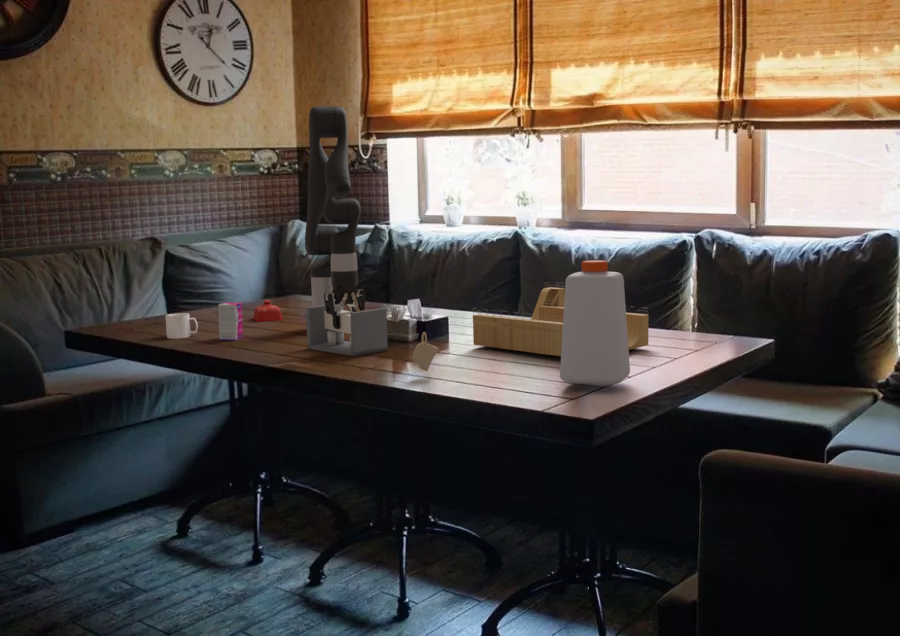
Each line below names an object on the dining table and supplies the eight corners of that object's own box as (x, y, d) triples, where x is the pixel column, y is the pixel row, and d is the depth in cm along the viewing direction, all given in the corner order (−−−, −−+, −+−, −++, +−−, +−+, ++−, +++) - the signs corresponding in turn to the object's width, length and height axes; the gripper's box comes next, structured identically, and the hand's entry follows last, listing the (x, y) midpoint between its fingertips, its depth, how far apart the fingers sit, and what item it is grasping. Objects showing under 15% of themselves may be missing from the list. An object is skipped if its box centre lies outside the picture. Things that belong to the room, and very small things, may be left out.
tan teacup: (415, 366, 257) (404, 359, 253) (431, 338, 258) (420, 330, 254) (426, 372, 255) (415, 364, 251) (443, 343, 256) (432, 335, 252)
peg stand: (307, 348, 295) (305, 307, 293) (339, 343, 303) (338, 303, 301) (355, 356, 280) (353, 313, 278) (387, 350, 288) (386, 308, 286)
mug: (198, 335, 326) (197, 312, 325) (198, 338, 319) (196, 315, 318) (167, 337, 324) (165, 313, 323) (166, 340, 317) (164, 316, 316)
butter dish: (288, 325, 347) (287, 300, 346) (254, 327, 343) (253, 302, 342) (281, 321, 358) (280, 297, 357) (248, 323, 354) (247, 299, 353)
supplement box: (236, 341, 312) (234, 304, 310) (218, 341, 313) (216, 304, 311) (244, 338, 317) (242, 302, 316) (226, 338, 318) (224, 302, 317)
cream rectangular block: (369, 332, 286) (368, 314, 285) (352, 334, 283) (351, 316, 282) (341, 326, 299) (340, 309, 298) (324, 328, 296) (324, 311, 295)
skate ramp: (472, 348, 291) (471, 292, 288) (550, 333, 316) (550, 281, 313) (585, 363, 263) (585, 301, 261) (660, 345, 288) (661, 289, 286)
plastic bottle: (555, 383, 236) (554, 263, 232) (571, 371, 250) (571, 258, 246) (620, 386, 231) (620, 264, 227) (633, 374, 244) (633, 258, 241)
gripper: (332, 271, 281) (335, 331, 283) (371, 267, 291) (373, 325, 293) (315, 270, 286) (318, 329, 288) (355, 266, 296) (357, 323, 298)
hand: (346, 327), depth 291 cm, fingers closed on cream rectangular block, 6 cm apart
